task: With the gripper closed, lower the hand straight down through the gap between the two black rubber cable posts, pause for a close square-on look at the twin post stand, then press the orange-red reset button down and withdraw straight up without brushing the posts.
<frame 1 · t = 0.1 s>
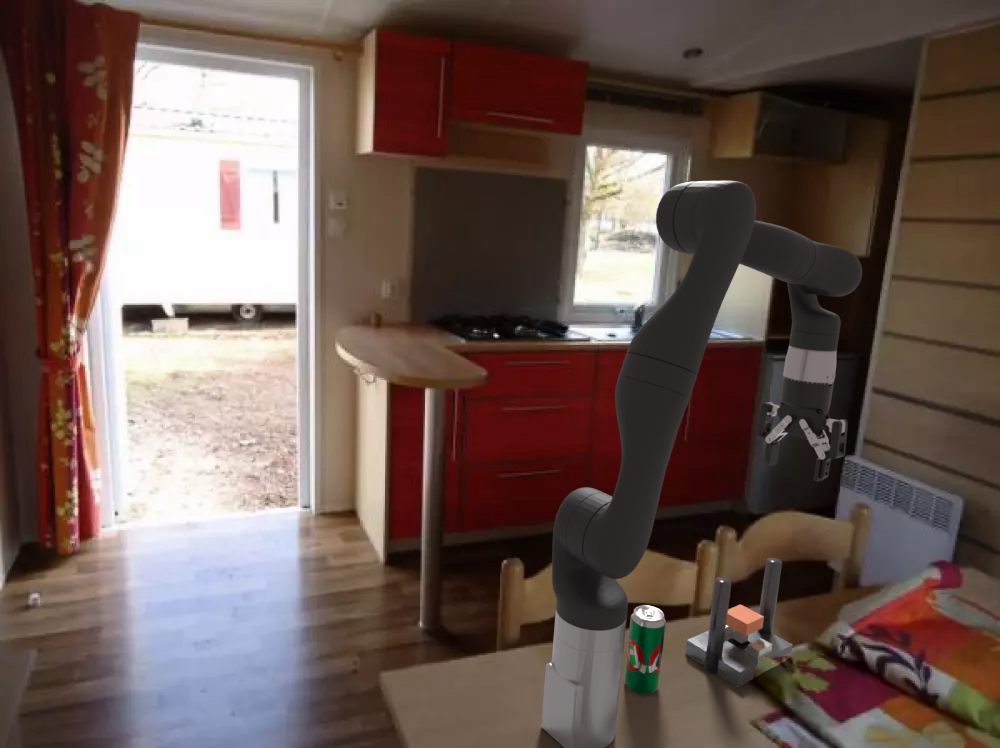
hand: (794, 472, 117), 29 cm above the table, fingers open, 8 cm apart
soda can: (641, 687, 106), on the table
twin post stand: (738, 656, 115), on the table
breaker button: (742, 626, 114), point 5 cm above the table, slide at 0.0 cm
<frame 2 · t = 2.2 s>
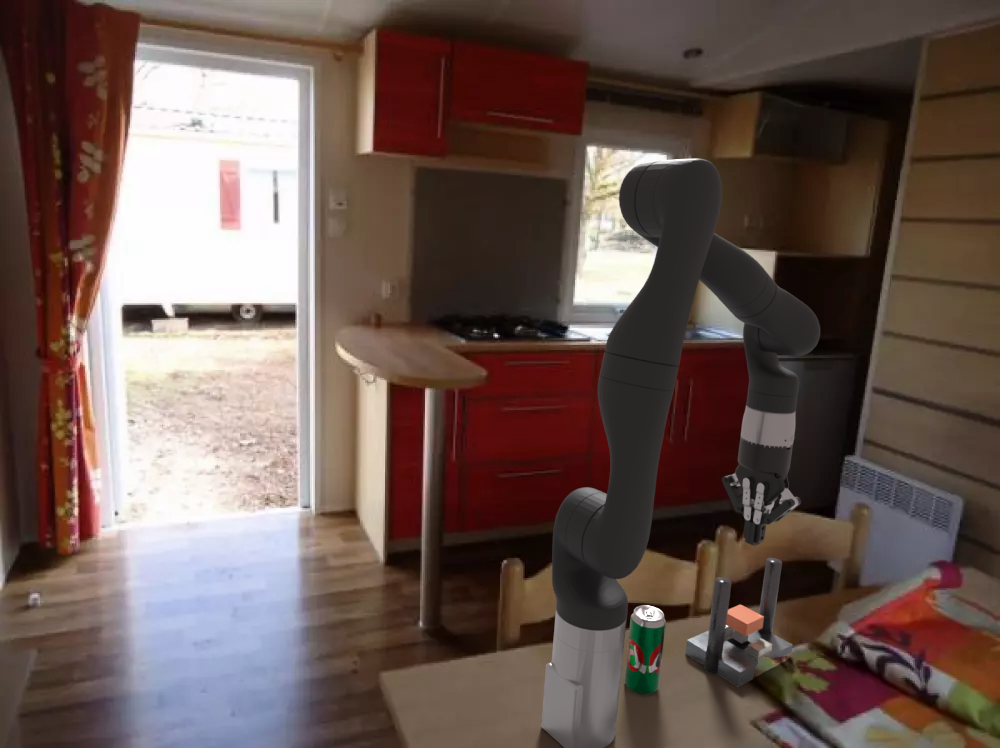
hand: (753, 543, 111), 20 cm above the table, fingers closed
nothing on the table moved.
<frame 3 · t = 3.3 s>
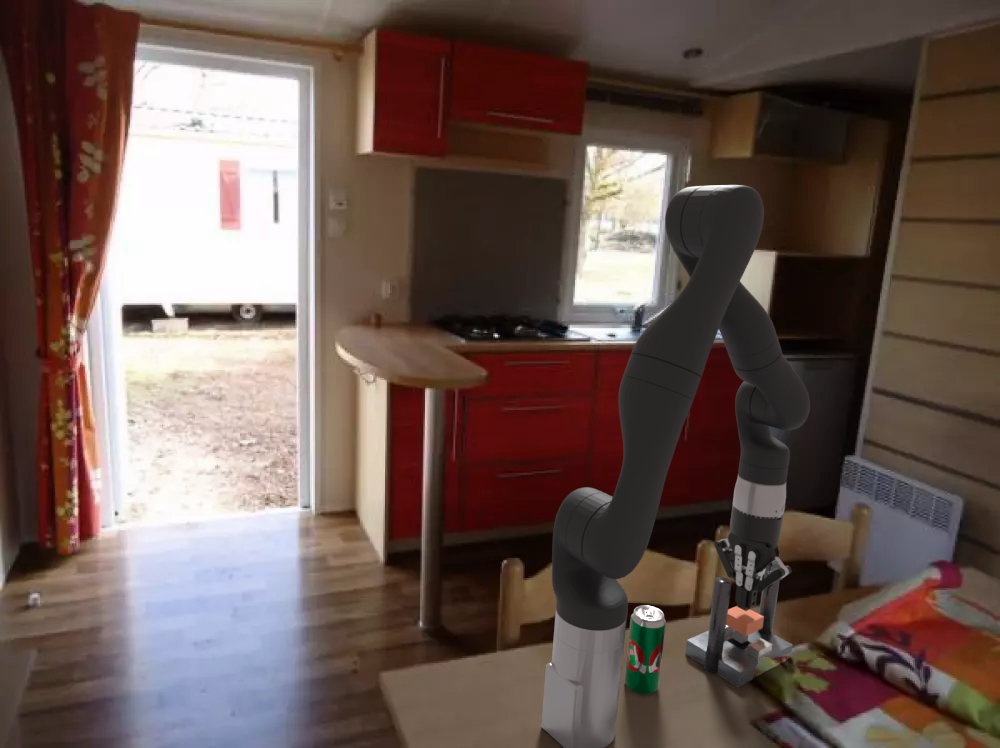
hand: (744, 607, 114), 9 cm above the table, fingers closed
nothing on the table moved.
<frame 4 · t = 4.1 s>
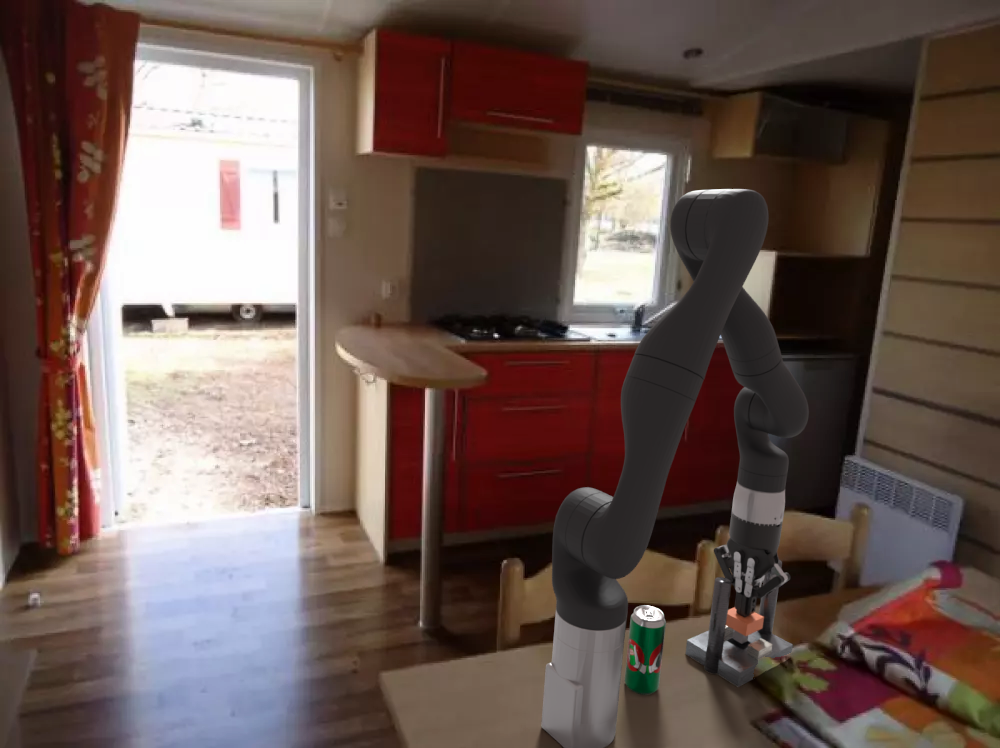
hand: (744, 614, 114), 7 cm above the table, fingers closed
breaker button: (742, 627, 114), point 5 cm above the table, slide at 0.1 cm, touching gripper
everything else where it was.
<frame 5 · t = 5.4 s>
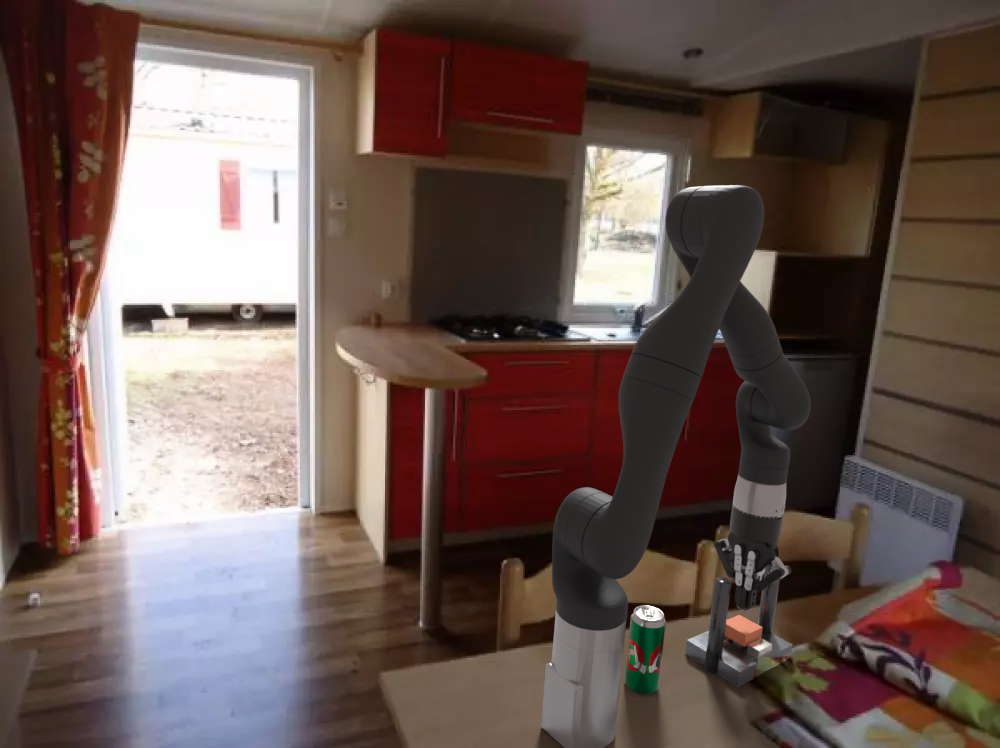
hand: (744, 607, 114), 9 cm above the table, fingers closed
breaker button: (740, 637, 115), point 3 cm above the table, slide at 1.9 cm
everything else where it was.
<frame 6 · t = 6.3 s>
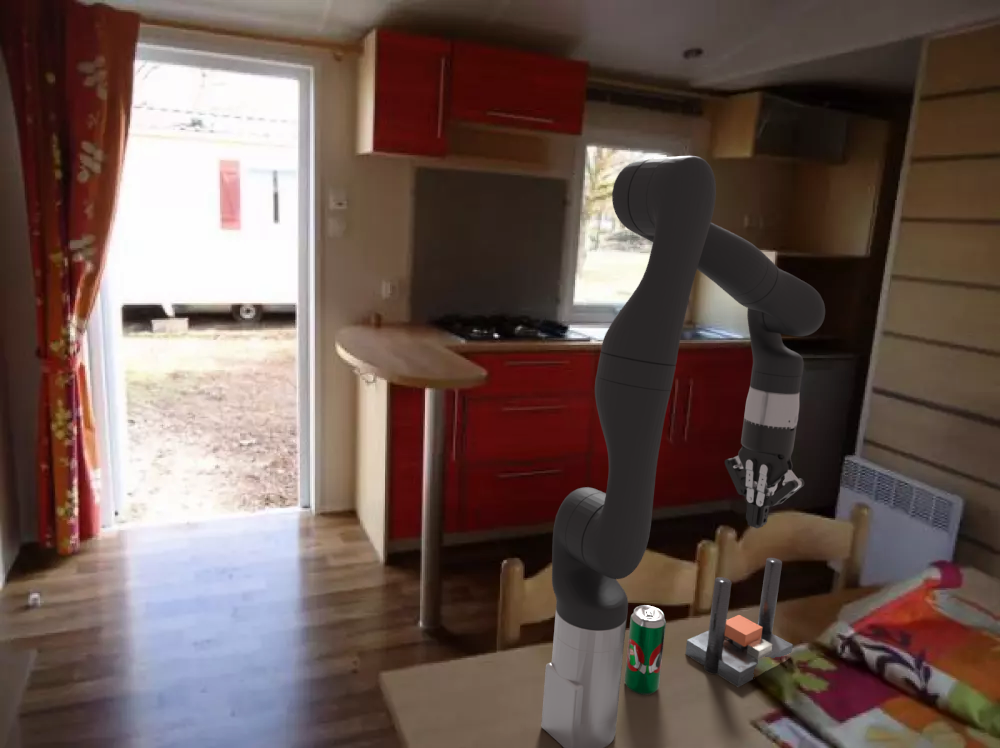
hand: (755, 525, 111), 23 cm above the table, fingers closed
nothing on the table moved.
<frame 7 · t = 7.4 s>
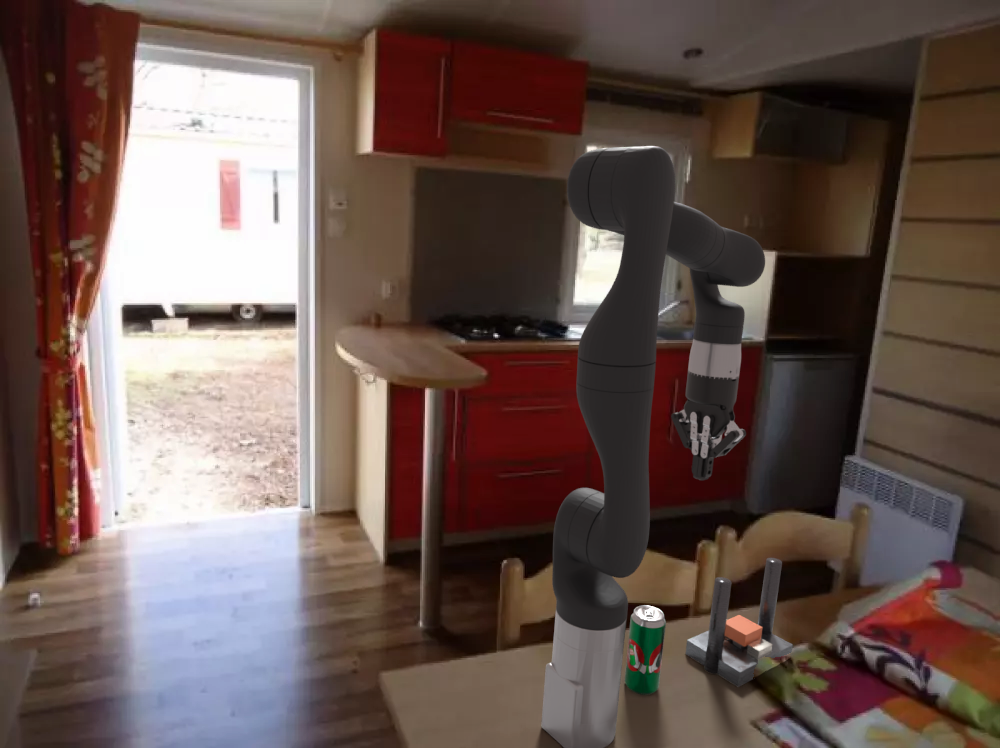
hand: (701, 478, 112), 29 cm above the table, fingers closed
nothing on the table moved.
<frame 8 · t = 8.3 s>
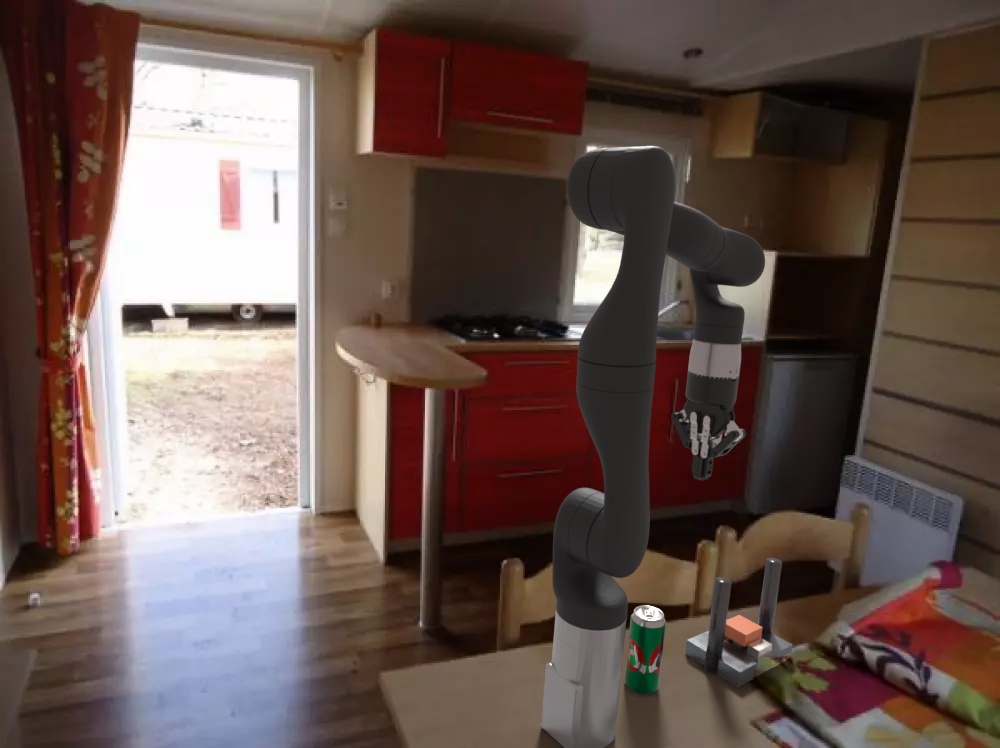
hand: (701, 478, 112), 29 cm above the table, fingers closed
nothing on the table moved.
at the end: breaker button slide at 1.9 cm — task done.
